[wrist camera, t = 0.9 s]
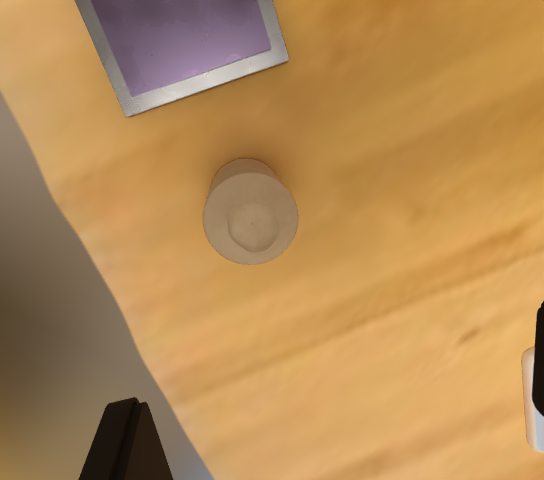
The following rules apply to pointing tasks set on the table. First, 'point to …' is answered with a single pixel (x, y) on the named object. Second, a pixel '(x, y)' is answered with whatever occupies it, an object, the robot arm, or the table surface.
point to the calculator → (531, 404)
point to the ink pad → (180, 46)
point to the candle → (249, 213)
